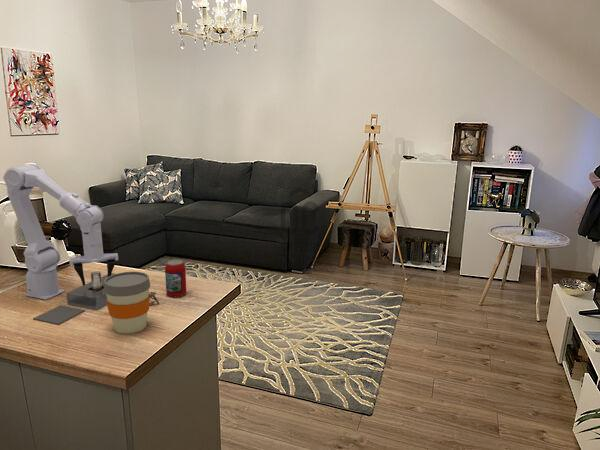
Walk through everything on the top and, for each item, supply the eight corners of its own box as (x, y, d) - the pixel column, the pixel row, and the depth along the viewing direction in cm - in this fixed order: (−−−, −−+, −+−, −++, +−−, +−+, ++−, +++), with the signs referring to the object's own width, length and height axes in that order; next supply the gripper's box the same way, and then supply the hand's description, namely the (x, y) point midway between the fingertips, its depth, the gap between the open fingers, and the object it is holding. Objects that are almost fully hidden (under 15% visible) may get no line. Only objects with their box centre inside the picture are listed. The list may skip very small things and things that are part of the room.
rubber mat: (33, 319, 135) (33, 318, 135) (60, 306, 144) (60, 305, 144) (58, 325, 132) (58, 323, 131) (84, 311, 141) (84, 310, 141)
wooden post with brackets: (161, 302, 147) (155, 291, 145) (139, 314, 145) (132, 304, 143) (161, 300, 148) (154, 289, 147) (138, 312, 146) (131, 301, 144)
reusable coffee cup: (118, 316, 138) (114, 270, 134) (158, 317, 138) (155, 271, 134) (99, 335, 126) (94, 286, 122) (143, 337, 126) (140, 287, 122)
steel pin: (91, 300, 149) (88, 273, 147) (98, 296, 152) (96, 270, 149) (97, 301, 148) (95, 275, 145) (105, 298, 150) (102, 272, 148)
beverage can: (162, 296, 153) (160, 263, 150) (174, 289, 159) (173, 257, 156) (178, 299, 151) (176, 266, 148) (190, 292, 157) (189, 260, 154)
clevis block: (67, 304, 145) (66, 293, 144) (111, 283, 164) (110, 273, 163) (97, 310, 142) (95, 298, 141) (138, 287, 160) (137, 277, 159)
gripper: (67, 249, 138) (72, 290, 142) (117, 244, 145) (120, 283, 148) (68, 243, 145) (72, 282, 148) (115, 239, 151) (119, 276, 154)
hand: (96, 282), depth 148 cm, fingers open, 7 cm apart
